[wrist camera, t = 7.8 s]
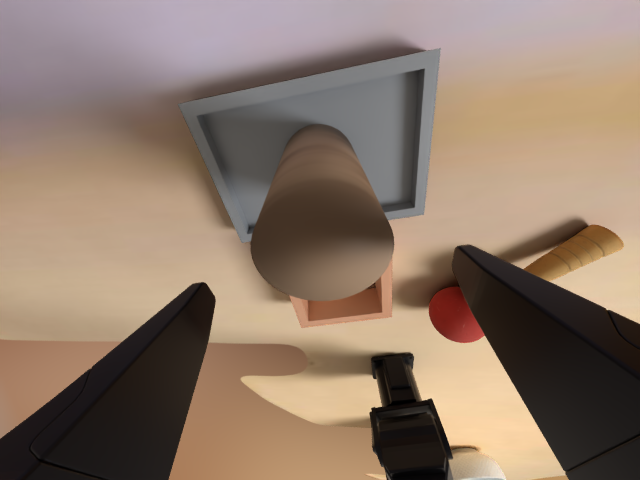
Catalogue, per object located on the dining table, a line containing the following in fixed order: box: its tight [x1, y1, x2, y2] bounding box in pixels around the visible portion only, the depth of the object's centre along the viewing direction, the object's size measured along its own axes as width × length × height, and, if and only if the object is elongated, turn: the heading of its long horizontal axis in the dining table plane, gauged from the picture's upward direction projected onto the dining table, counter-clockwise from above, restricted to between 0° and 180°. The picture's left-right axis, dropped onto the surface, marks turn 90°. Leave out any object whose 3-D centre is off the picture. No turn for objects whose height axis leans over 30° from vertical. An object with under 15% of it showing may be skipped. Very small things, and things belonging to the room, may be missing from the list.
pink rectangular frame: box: [289, 259, 392, 328], centre depth 24 cm, size 10×10×4 cm
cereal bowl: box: [449, 448, 506, 480], centre depth 68 cm, size 17×17×7 cm
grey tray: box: [178, 48, 441, 243], centre depth 18 cm, size 11×16×2 cm
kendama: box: [429, 225, 624, 343], centre depth 25 cm, size 8×6×18 cm
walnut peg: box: [251, 124, 394, 301], centre depth 14 cm, size 6×6×11 cm
